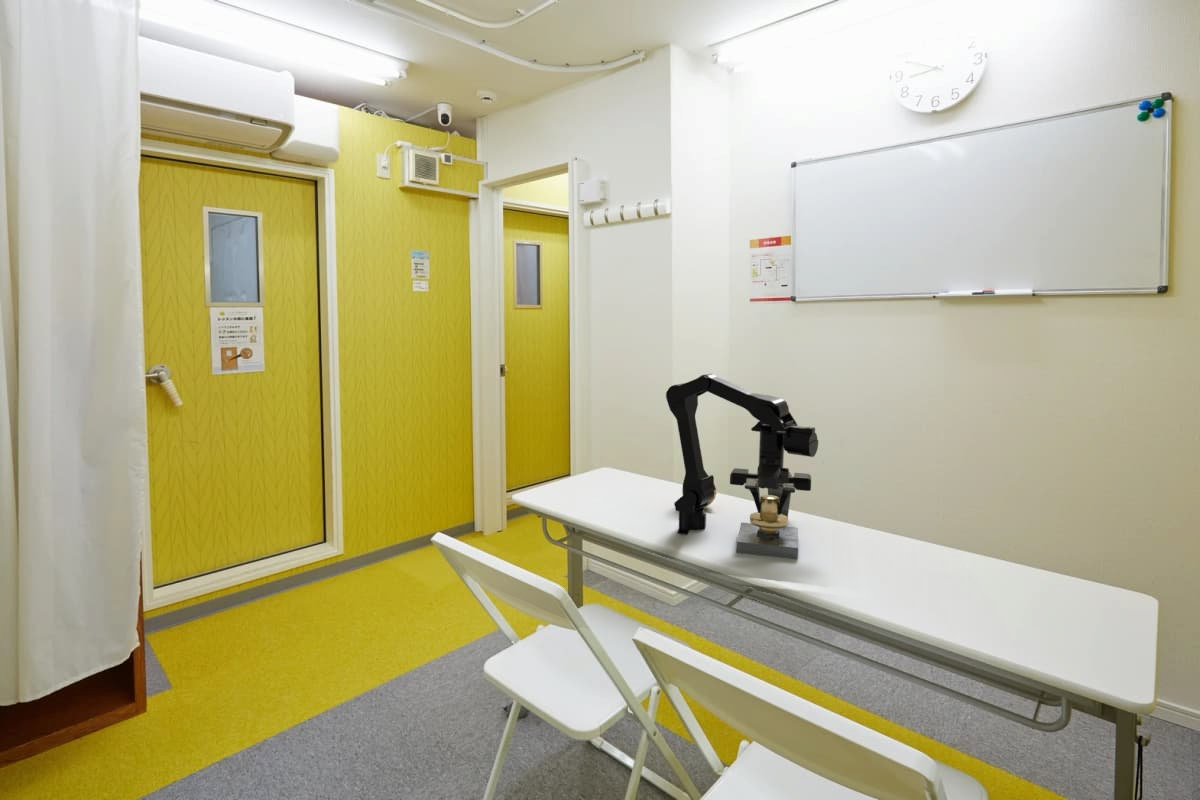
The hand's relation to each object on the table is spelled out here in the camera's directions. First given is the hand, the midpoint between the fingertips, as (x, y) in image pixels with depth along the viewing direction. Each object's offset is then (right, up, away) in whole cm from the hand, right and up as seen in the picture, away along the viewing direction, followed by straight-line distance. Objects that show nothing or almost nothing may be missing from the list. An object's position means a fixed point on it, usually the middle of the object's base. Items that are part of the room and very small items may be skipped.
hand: (769, 513), depth 156 cm
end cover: (0, -5, +1) cm, 5 cm away
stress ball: (-12, -5, +34) cm, 36 cm away
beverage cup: (+8, -7, +21) cm, 23 cm away
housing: (0, -9, +1) cm, 9 cm away
